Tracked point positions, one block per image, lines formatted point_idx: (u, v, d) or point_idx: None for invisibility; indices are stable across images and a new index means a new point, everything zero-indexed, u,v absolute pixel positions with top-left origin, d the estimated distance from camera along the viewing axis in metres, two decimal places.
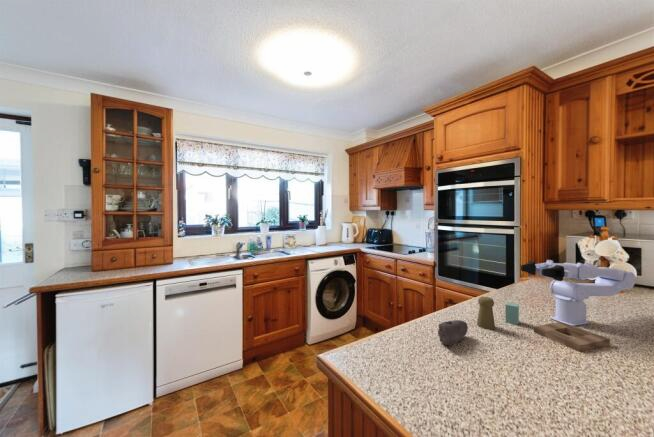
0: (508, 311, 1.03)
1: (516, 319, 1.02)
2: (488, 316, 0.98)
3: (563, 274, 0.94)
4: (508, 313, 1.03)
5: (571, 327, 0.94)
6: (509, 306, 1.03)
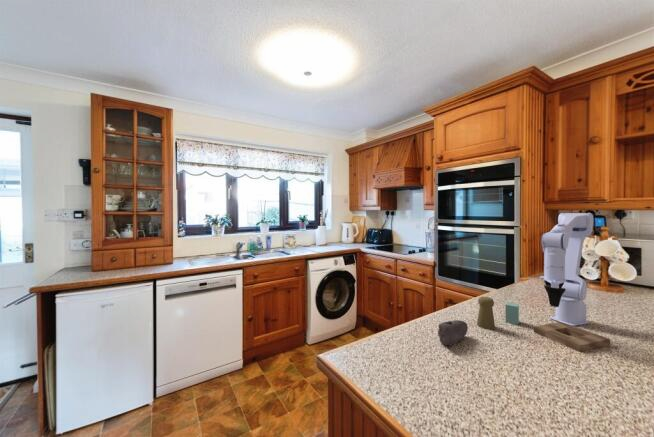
0: (508, 311, 1.03)
1: (516, 319, 1.02)
2: (488, 316, 0.98)
3: (555, 288, 0.90)
4: (508, 313, 1.03)
5: (571, 327, 0.94)
6: (509, 306, 1.03)
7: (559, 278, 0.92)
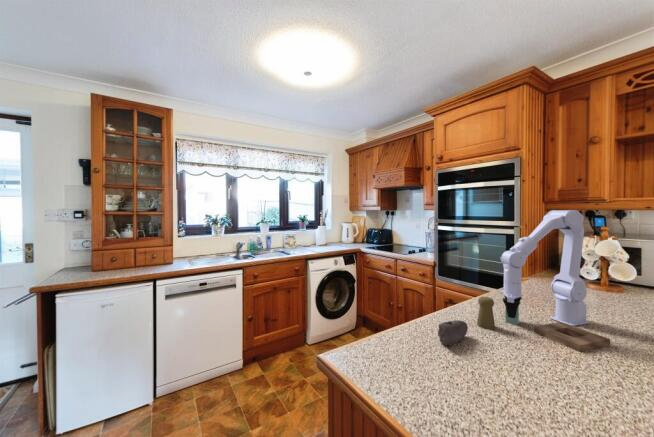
0: None
1: (516, 319, 1.02)
2: (488, 316, 0.98)
3: None
4: None
5: (571, 327, 0.94)
6: None
7: (515, 293, 1.01)
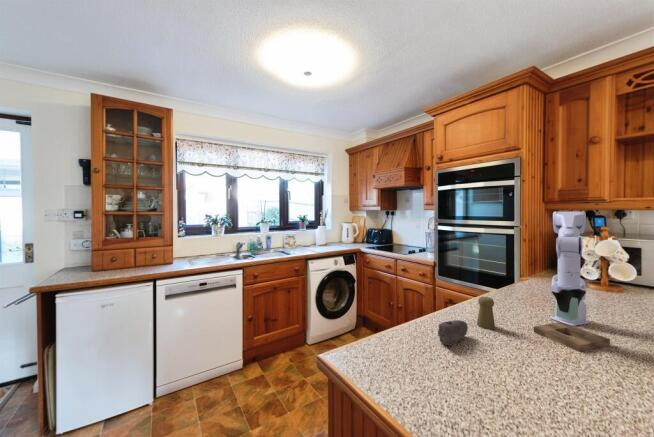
0: None
1: (568, 314, 0.89)
2: (488, 316, 0.98)
3: (559, 292, 0.89)
4: None
5: (571, 327, 0.94)
6: None
7: (567, 284, 0.88)
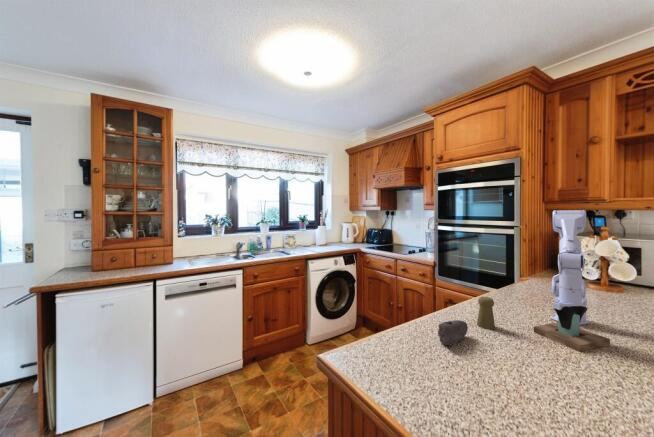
0: None
1: (570, 331, 0.89)
2: (488, 316, 0.98)
3: (561, 309, 0.89)
4: None
5: None
6: None
7: (569, 301, 0.88)
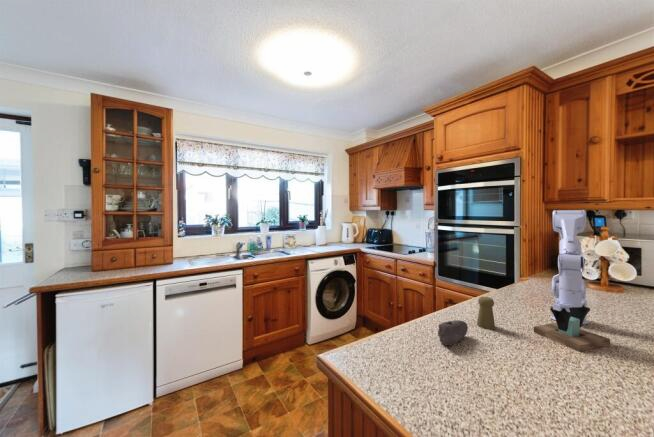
0: None
1: (570, 335, 0.89)
2: (488, 316, 0.98)
3: (559, 311, 0.88)
4: None
5: None
6: None
7: (569, 302, 0.88)
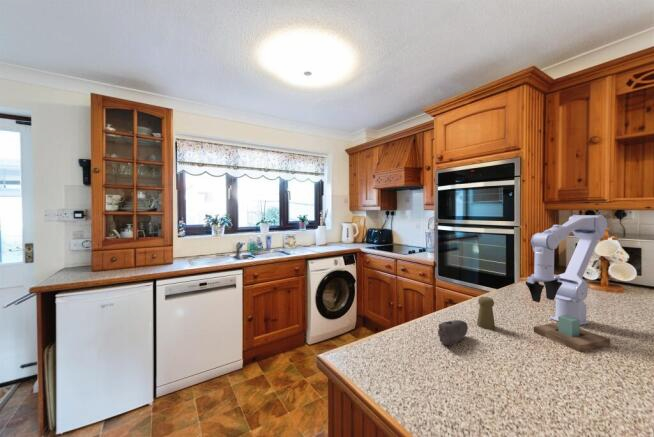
0: (561, 324, 0.91)
1: (570, 335, 0.89)
2: (488, 316, 0.98)
3: (532, 283, 0.98)
4: (561, 327, 0.91)
5: None
6: (562, 319, 0.91)
7: (542, 276, 0.98)
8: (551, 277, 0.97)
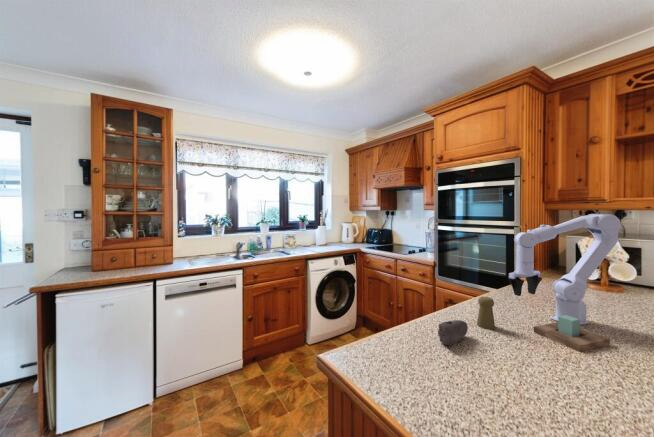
0: (561, 324, 0.91)
1: (570, 335, 0.89)
2: (488, 316, 0.98)
3: (513, 279, 1.06)
4: (561, 327, 0.91)
5: None
6: (562, 319, 0.91)
7: (522, 272, 1.06)
8: (531, 273, 1.05)
